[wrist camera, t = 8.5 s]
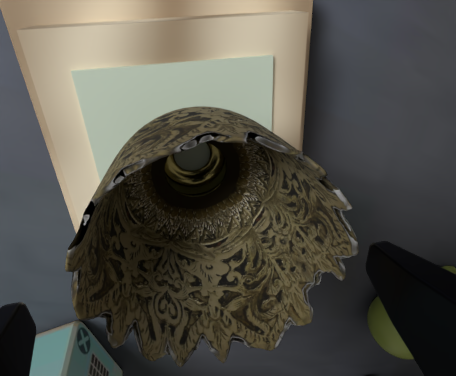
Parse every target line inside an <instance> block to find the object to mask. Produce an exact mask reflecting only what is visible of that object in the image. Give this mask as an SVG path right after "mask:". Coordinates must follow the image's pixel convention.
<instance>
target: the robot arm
mask: <svg viewBox="0 0 456 376" xmlns="http://www.w3.org/2000/svg"><path fill="white" fill-rule="evenodd" d="M366 272H367V274H368V276H369V278H370V280H371V282H372V284H373V287H374V289H375V291H376V293H377V295H378V297H379V299H380V301H381V303H382V305H383V307H384V309H385V311H386V313H387V315H388V317H389V318H390V320H391V322H392V324H393V326H394V327H395V329H396V331H397V332H398V334H399V335H400V337H401V339H402V340H403V342H404V343H405V345H406V347H407V348H408V350H409V351H410V353H411V355H412V356H413V358H414V359H415V361H416V362H417V364H418V366H419V367H420V369H421V370H422V372H423V374H424V375H425V376H456V274H455V273H453V272H450V271H448V270H446V269H444V268H442V267H440V266H438V265H436V264H434V263H432V262H429V261H427V260H425V259H423V258H421V257H419V256H417V255H415V254H413V253H411V252H408V251H406V250H404V249H402V248H400V247H398V246H396V245H394V244H392V243H390V242H387V241H381V242H375V243H372V244H371V245H370V247H369V252H368V256H367V261H366ZM35 338H36V325H35V323H34V321H33V319H32V316H31V314H30V312H29V310H28V308H27V306H26V305H25V304H24V303H22V302H18V303H12V304H7V305H4V306H2V307H1V308H0V376H29V375H30V369H31V362H32V356H33V350H34V344H35Z"/></svg>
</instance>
